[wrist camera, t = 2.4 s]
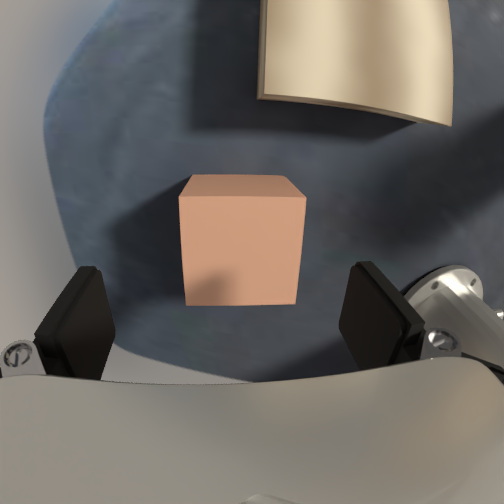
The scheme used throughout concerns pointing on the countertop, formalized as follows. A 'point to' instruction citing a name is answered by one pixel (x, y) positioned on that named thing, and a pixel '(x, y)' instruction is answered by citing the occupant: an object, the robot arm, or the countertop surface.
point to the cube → (241, 239)
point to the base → (359, 56)
